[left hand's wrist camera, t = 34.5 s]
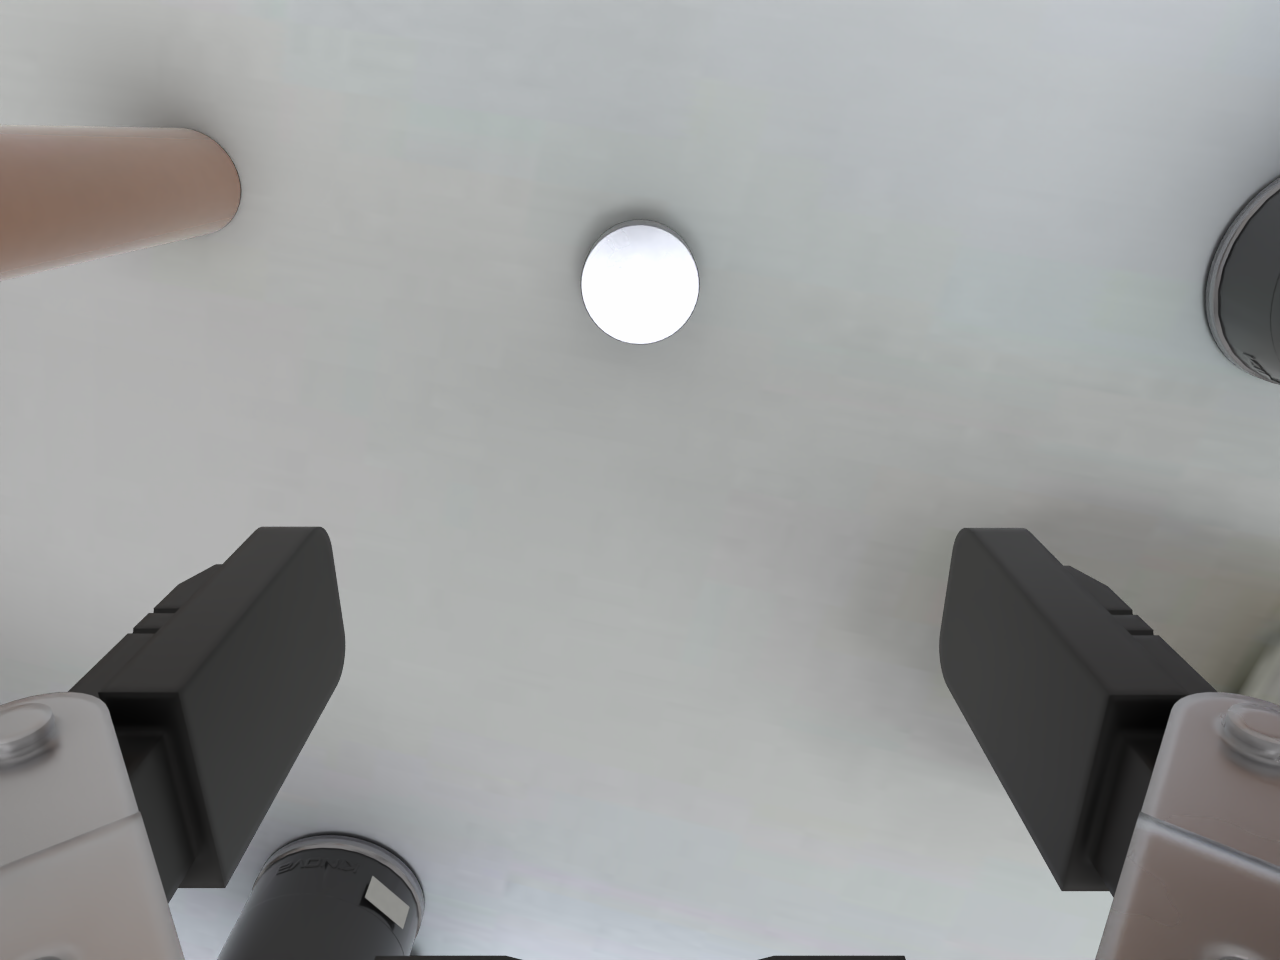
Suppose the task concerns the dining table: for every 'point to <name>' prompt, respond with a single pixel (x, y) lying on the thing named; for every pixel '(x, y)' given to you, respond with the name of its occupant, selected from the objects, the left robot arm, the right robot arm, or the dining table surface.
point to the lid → (640, 282)
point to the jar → (106, 192)
